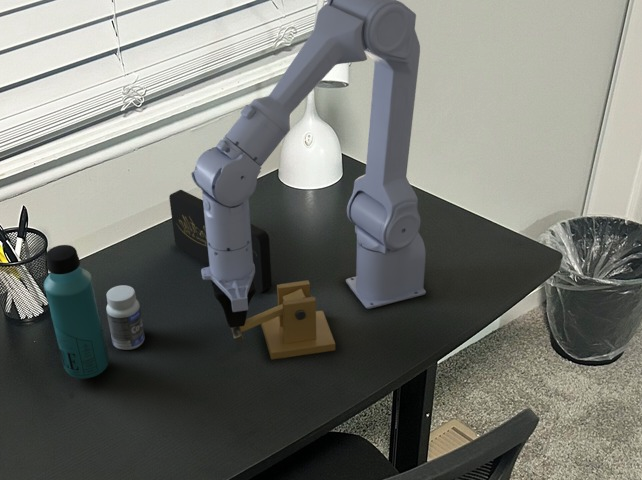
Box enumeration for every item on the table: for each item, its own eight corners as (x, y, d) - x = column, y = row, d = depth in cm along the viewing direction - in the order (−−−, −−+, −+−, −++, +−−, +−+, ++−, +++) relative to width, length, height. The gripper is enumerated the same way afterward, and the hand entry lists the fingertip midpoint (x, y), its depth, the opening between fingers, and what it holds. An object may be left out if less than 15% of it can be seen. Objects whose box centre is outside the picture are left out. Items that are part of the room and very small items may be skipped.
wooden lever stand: (271, 359, 126) (268, 314, 121) (261, 325, 132) (258, 280, 127) (335, 350, 126) (335, 304, 121) (322, 316, 132) (322, 271, 128)
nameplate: (272, 289, 139) (269, 232, 133) (263, 295, 138) (259, 237, 132) (184, 241, 152) (177, 187, 146) (175, 246, 151) (168, 192, 145)
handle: (238, 347, 126) (232, 335, 124) (233, 326, 130) (227, 313, 128) (312, 315, 124) (306, 303, 122) (305, 295, 128) (299, 282, 126)
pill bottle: (140, 351, 130) (132, 303, 125) (108, 350, 131) (99, 302, 125) (148, 331, 133) (141, 283, 128) (117, 330, 134) (108, 282, 129)
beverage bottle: (118, 361, 128) (95, 239, 116) (99, 392, 124) (73, 267, 111) (77, 355, 130) (49, 234, 118) (56, 385, 126) (25, 262, 113)
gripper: (192, 215, 123) (201, 298, 132) (204, 274, 112) (214, 360, 120) (244, 208, 124) (250, 291, 132) (261, 266, 112) (267, 352, 121)
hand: (236, 324), depth 126 cm, fingers closed, pressing on handle
